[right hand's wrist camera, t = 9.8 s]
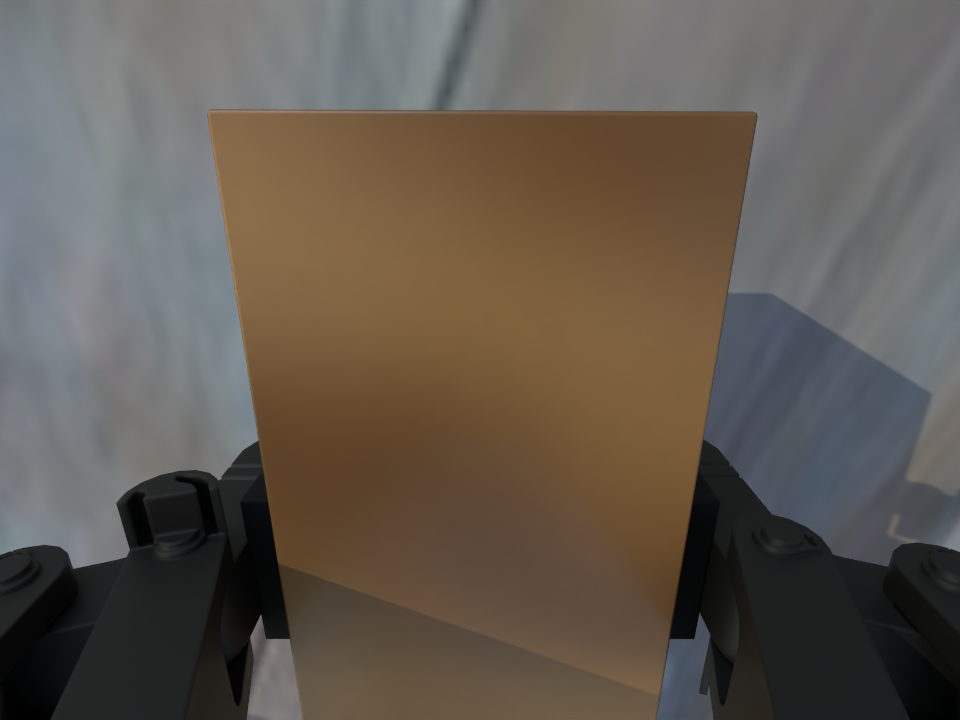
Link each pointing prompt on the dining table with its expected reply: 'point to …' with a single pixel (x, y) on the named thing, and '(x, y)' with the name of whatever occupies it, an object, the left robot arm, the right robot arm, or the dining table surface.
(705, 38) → the dining table surface
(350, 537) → the bar
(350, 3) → the dining table surface
